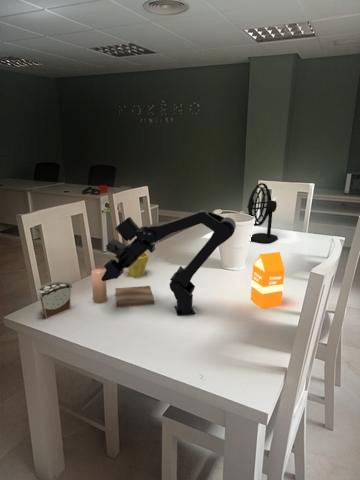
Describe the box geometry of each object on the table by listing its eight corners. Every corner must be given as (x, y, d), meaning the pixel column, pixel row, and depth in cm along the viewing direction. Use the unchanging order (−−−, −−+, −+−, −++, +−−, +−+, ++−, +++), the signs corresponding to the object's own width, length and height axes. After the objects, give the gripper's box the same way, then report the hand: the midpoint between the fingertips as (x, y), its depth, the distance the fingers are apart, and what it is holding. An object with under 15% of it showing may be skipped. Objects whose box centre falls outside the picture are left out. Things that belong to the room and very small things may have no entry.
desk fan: (257, 232, 235) (261, 180, 225) (282, 236, 225) (288, 182, 215) (239, 241, 214) (242, 184, 204) (265, 246, 204) (271, 186, 194)
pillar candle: (107, 302, 130) (105, 273, 127) (92, 303, 129) (91, 273, 126) (107, 296, 135) (105, 268, 132) (93, 297, 134) (91, 268, 131)
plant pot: (142, 280, 152) (141, 259, 149) (121, 277, 155) (120, 256, 152) (151, 272, 161) (151, 252, 158) (131, 269, 164) (131, 249, 162)
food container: (64, 302, 130) (62, 278, 127) (73, 307, 126) (71, 282, 123) (33, 314, 121) (30, 288, 118) (42, 320, 117) (39, 293, 114)
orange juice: (250, 300, 134) (253, 251, 129) (269, 296, 137) (273, 248, 132) (261, 309, 127) (265, 257, 122) (281, 305, 130) (286, 255, 125)
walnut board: (154, 304, 130) (154, 300, 129) (116, 307, 127) (116, 303, 126) (149, 289, 143) (149, 285, 142) (115, 291, 140) (115, 288, 140)
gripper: (129, 227, 131) (103, 252, 137) (108, 240, 114) (80, 268, 119) (149, 248, 132) (122, 272, 137) (131, 265, 114) (102, 291, 120)
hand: (107, 275), depth 129 cm, fingers open, 9 cm apart
